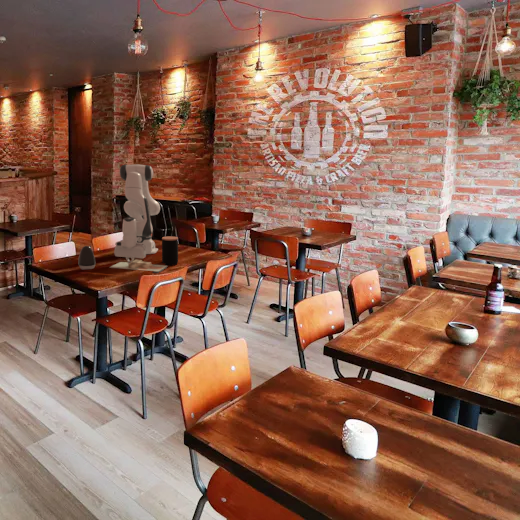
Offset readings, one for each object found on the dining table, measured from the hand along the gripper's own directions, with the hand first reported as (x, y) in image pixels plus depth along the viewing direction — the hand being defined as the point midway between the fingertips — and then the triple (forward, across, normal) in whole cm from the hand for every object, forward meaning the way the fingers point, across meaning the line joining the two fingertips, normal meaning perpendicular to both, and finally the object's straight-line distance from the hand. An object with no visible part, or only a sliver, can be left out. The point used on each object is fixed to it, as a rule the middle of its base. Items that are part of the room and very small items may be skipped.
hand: (130, 264), depth 299 cm
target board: (+2, -6, 0) cm, 6 cm away
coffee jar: (+3, -20, -18) cm, 27 cm away
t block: (+1, -7, 0) cm, 7 cm away
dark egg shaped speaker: (+3, +23, +13) cm, 26 cm away
